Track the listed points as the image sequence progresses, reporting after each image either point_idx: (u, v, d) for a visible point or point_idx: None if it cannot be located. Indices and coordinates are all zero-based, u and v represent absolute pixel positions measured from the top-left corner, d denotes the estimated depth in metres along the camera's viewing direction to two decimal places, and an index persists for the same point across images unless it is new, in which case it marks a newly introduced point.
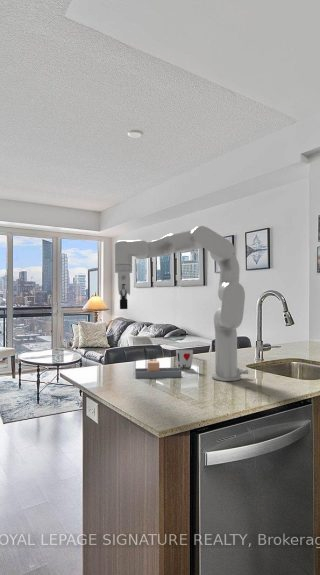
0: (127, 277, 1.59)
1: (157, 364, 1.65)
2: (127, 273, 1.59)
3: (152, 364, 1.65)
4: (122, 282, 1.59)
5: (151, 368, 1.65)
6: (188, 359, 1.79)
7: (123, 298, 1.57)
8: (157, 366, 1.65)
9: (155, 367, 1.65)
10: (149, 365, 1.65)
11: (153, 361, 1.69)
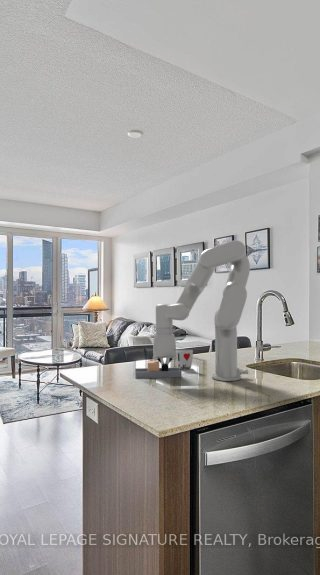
0: None
1: (157, 364, 1.65)
2: None
3: (152, 364, 1.65)
4: None
5: (151, 368, 1.65)
6: (188, 359, 1.79)
7: None
8: (157, 366, 1.65)
9: (155, 367, 1.65)
10: (149, 365, 1.65)
11: (153, 361, 1.69)
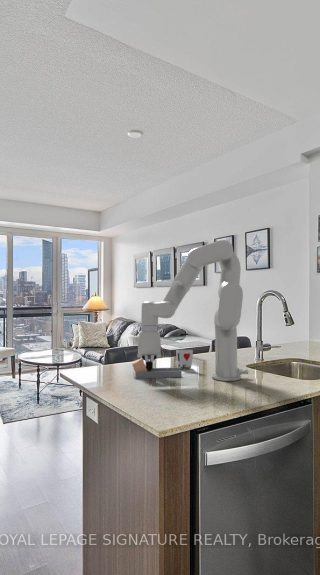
0: None
1: (141, 361, 1.65)
2: None
3: (136, 363, 1.65)
4: None
5: (137, 367, 1.65)
6: (188, 359, 1.79)
7: None
8: (141, 363, 1.65)
9: (140, 365, 1.65)
10: (134, 365, 1.64)
11: (137, 360, 1.68)
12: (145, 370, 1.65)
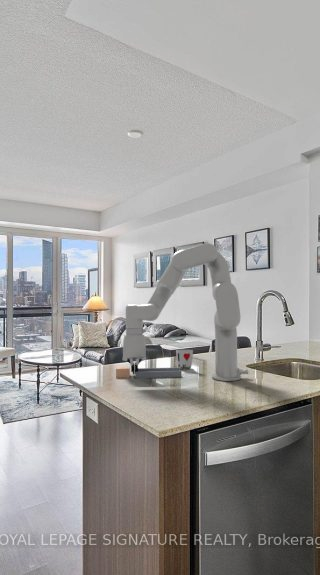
0: None
1: (117, 370, 1.64)
2: None
3: (117, 375, 1.64)
4: None
5: (121, 376, 1.64)
6: (188, 359, 1.79)
7: None
8: (119, 371, 1.64)
9: (120, 373, 1.64)
10: None
11: None
12: (127, 370, 1.64)
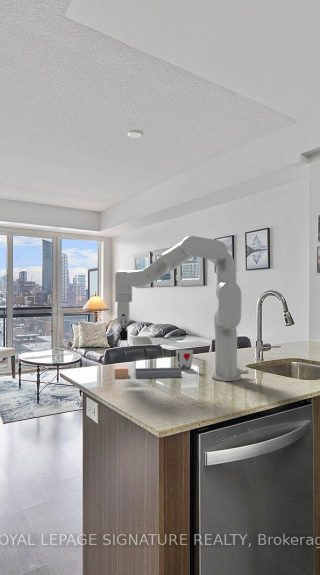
0: None
1: (116, 370, 1.64)
2: None
3: (116, 376, 1.64)
4: None
5: (120, 377, 1.64)
6: (188, 359, 1.79)
7: None
8: (117, 371, 1.64)
9: (119, 373, 1.64)
10: None
11: None
12: (125, 370, 1.64)
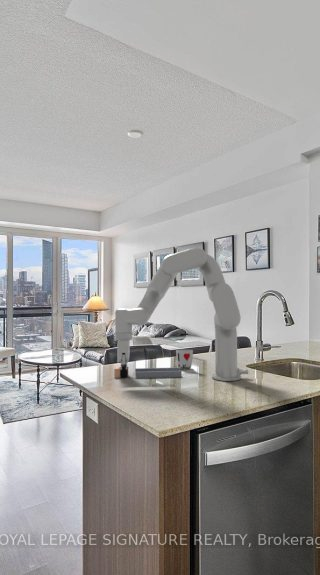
0: None
1: (116, 370, 1.64)
2: None
3: (115, 375, 1.64)
4: None
5: None
6: (188, 359, 1.79)
7: None
8: (117, 371, 1.64)
9: (119, 373, 1.64)
10: None
11: None
12: None
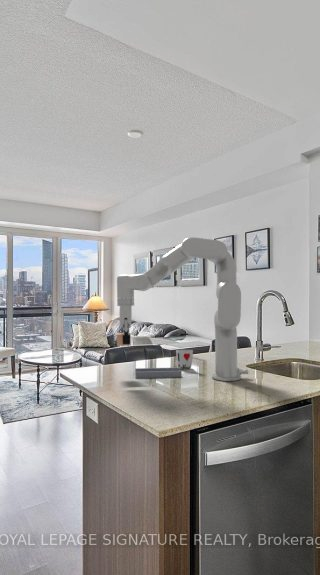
0: None
1: (118, 336, 1.65)
2: None
3: (118, 341, 1.65)
4: None
5: (122, 342, 1.65)
6: (188, 359, 1.79)
7: None
8: (120, 336, 1.65)
9: (121, 338, 1.65)
10: (119, 344, 1.65)
11: None
12: None
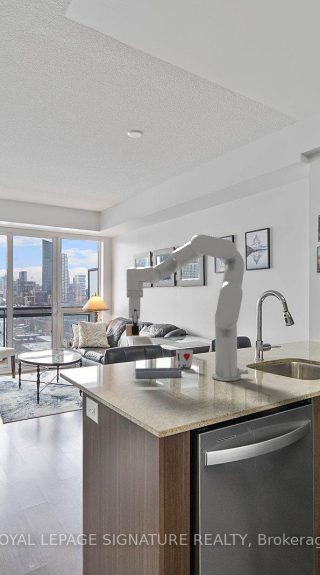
0: None
1: (127, 327, 1.70)
2: None
3: (127, 331, 1.69)
4: None
5: (131, 332, 1.70)
6: (188, 359, 1.79)
7: None
8: (129, 327, 1.70)
9: (130, 329, 1.70)
10: (128, 334, 1.69)
11: None
12: None
